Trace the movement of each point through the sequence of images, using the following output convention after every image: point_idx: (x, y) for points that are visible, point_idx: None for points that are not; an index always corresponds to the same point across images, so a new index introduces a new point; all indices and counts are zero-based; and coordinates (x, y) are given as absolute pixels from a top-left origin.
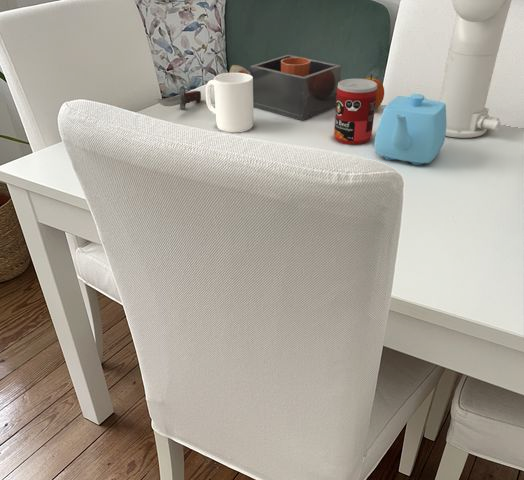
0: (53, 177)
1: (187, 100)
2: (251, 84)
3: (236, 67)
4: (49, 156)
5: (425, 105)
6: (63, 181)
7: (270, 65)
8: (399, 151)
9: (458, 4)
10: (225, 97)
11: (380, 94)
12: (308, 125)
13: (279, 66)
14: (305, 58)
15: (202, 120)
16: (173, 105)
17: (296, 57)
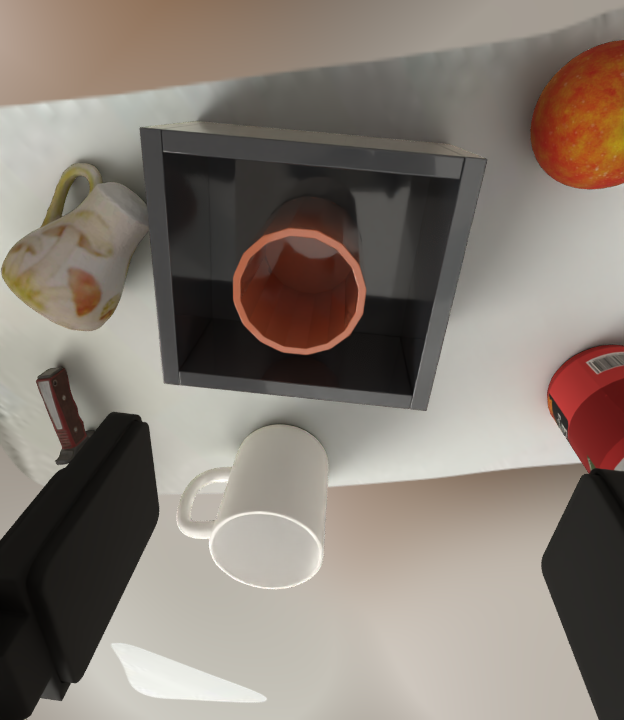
0: (216, 689)
1: (82, 433)
2: (322, 534)
3: (53, 311)
4: (143, 660)
5: None
6: (238, 691)
7: (177, 285)
8: None
9: None
10: (285, 556)
11: None
12: (441, 363)
13: (178, 220)
14: (309, 230)
15: (191, 463)
16: None
17: (263, 240)
